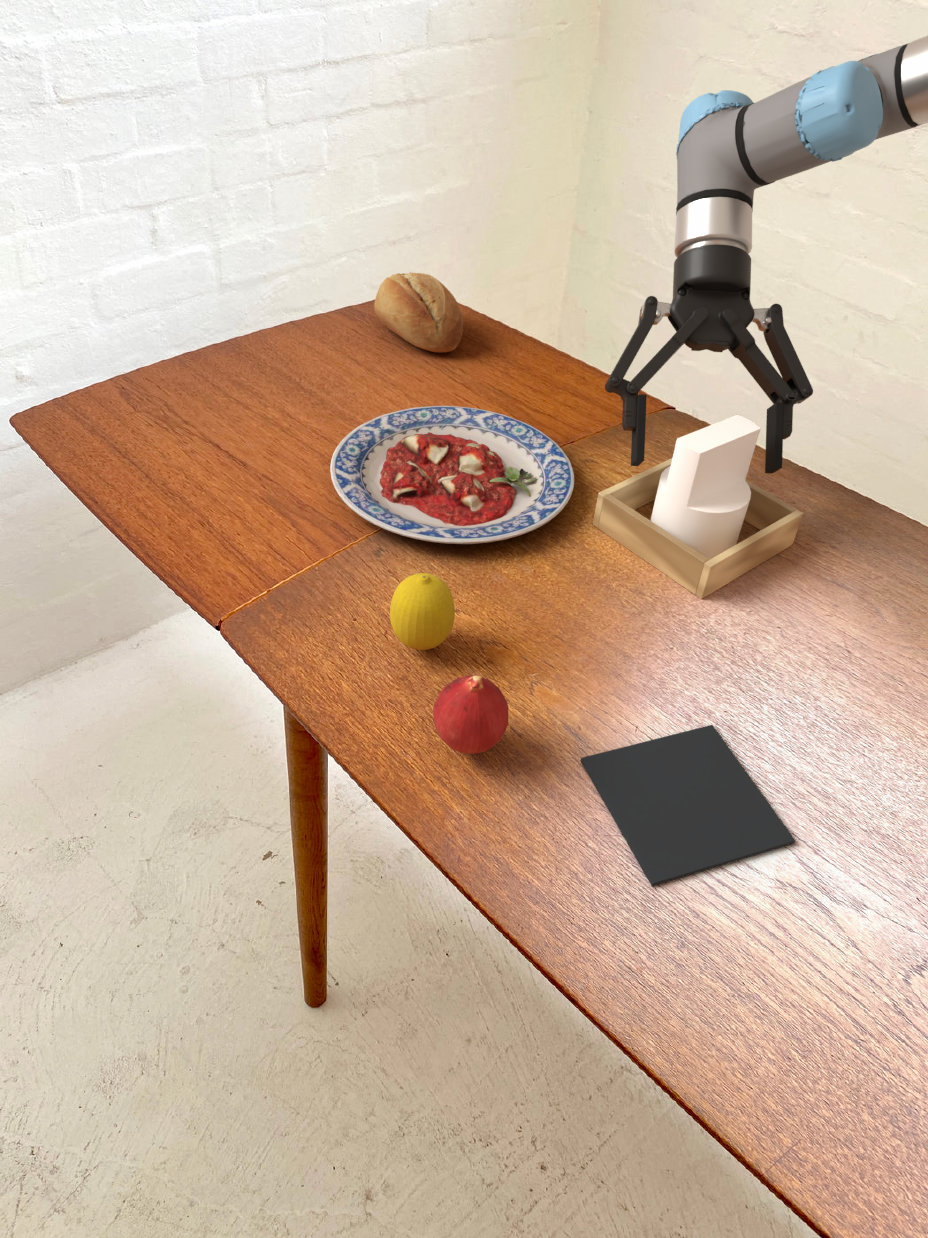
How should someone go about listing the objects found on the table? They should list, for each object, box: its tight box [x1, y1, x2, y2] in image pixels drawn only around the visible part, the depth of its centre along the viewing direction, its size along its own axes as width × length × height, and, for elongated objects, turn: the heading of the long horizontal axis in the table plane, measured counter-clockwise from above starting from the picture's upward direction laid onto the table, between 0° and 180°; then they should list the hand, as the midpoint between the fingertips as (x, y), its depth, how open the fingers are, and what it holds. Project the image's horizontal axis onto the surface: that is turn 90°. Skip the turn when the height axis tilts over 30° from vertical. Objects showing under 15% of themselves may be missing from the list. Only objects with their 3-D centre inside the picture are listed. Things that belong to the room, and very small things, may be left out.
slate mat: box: [580, 724, 796, 887], centre depth 75 cm, size 12×12×1 cm
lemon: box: [389, 572, 456, 651], centre depth 83 cm, size 6×6×8 cm
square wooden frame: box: [592, 457, 804, 600], centre depth 100 cm, size 15×15×4 cm
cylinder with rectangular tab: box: [649, 414, 761, 559], centre depth 97 cm, size 9×9×12 cm
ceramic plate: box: [329, 405, 575, 545], centre depth 104 cm, size 26×26×3 cm
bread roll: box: [373, 271, 464, 353], centre depth 128 cm, size 10×15×8 cm, turn 37°
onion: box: [432, 674, 509, 755], centre depth 75 cm, size 6×6×8 cm
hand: (705, 467), depth 97 cm, fingers open, 13 cm apart
